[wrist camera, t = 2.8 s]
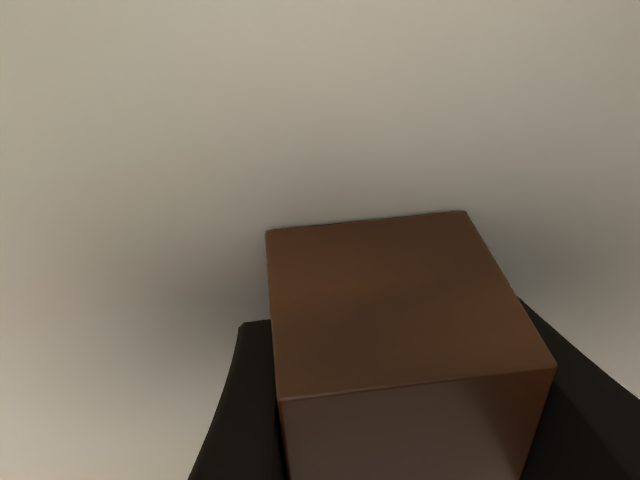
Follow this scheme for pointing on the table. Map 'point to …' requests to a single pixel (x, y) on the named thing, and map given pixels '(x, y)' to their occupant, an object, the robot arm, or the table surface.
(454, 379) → the block
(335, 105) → the table surface
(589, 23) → the table surface
